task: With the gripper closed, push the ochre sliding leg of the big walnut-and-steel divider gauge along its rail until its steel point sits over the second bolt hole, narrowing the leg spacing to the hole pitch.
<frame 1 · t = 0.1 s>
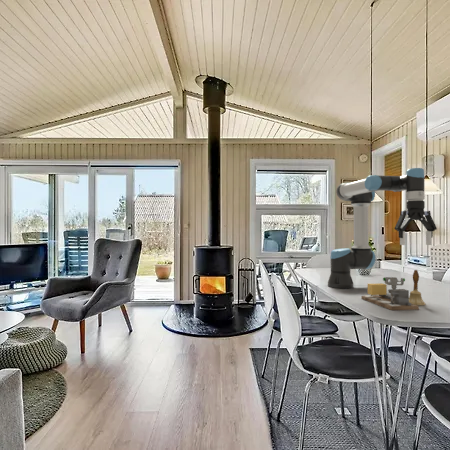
hand: (415, 245, 157), 28 cm above the table, fingers open, 13 cm apart
sliding leg: (377, 289, 163), point 5 cm above the table, slide at 0.0 cm
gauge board: (388, 303, 155), on the table
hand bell: (415, 304, 156), on the table
mechanical component: (394, 297, 172), on the table
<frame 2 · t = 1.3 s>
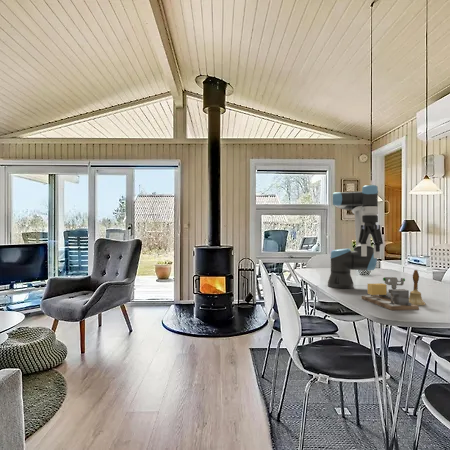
hand: (370, 257, 171), 21 cm above the table, fingers open, 11 cm apart
nothing on the table moved.
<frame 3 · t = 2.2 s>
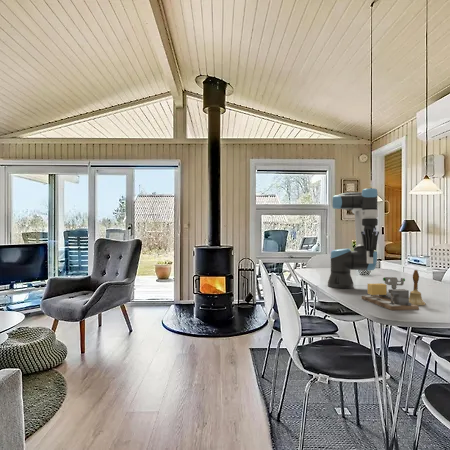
hand: (369, 263, 170), 18 cm above the table, fingers closed
nothing on the table moved.
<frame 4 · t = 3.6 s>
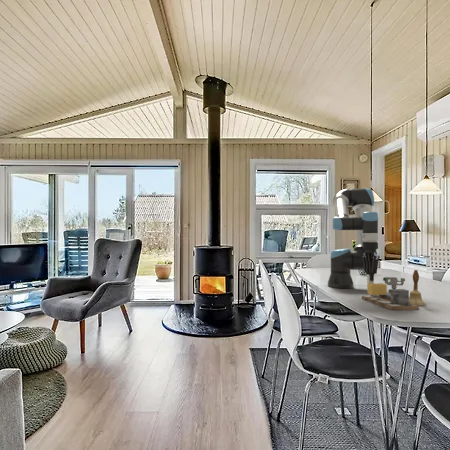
hand: (370, 286, 170), 5 cm above the table, fingers closed
nothing on the table moved.
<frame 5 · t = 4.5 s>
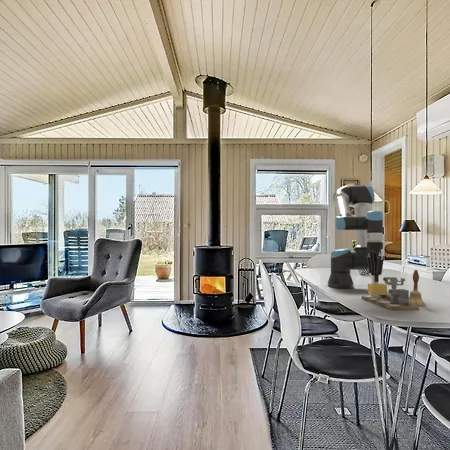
hand: (375, 288, 166), 6 cm above the table, fingers closed
sliding leg: (377, 289, 163), point 5 cm above the table, slide at 0.3 cm, touching gripper
everything else where it was.
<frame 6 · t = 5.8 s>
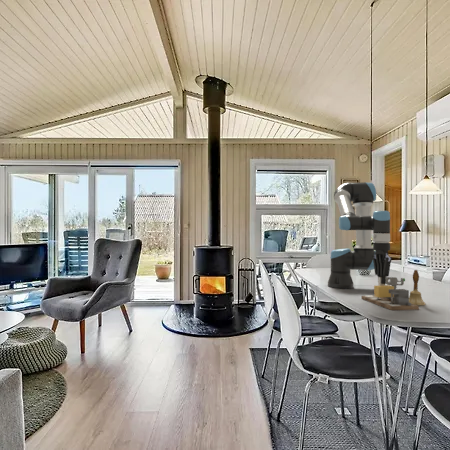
hand: (381, 290, 160), 5 cm above the table, fingers closed
sliding leg: (383, 291, 158), point 5 cm above the table, slide at 5.7 cm, touching gripper
everything else where it was.
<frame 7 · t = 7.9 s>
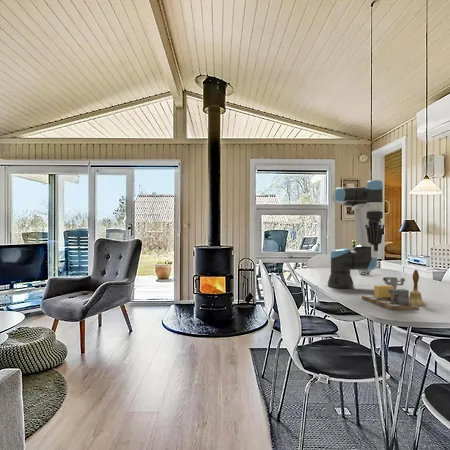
hand: (374, 257, 166), 21 cm above the table, fingers closed
sliding leg: (384, 291, 158), point 5 cm above the table, slide at 5.7 cm
everything else where it was.
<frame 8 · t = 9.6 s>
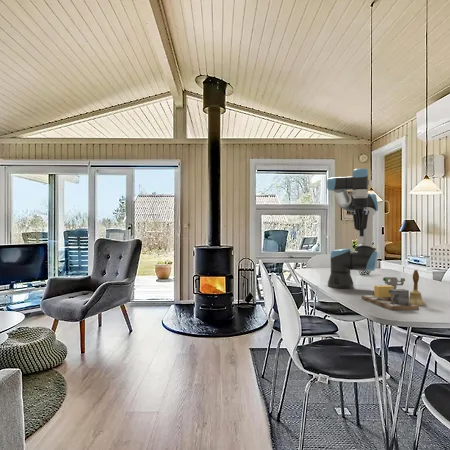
hand: (360, 242, 173), 28 cm above the table, fingers closed
nothing on the table moved.
at the end: sliding leg slide at 5.7 cm; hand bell moved 0.3 cm from its start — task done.
